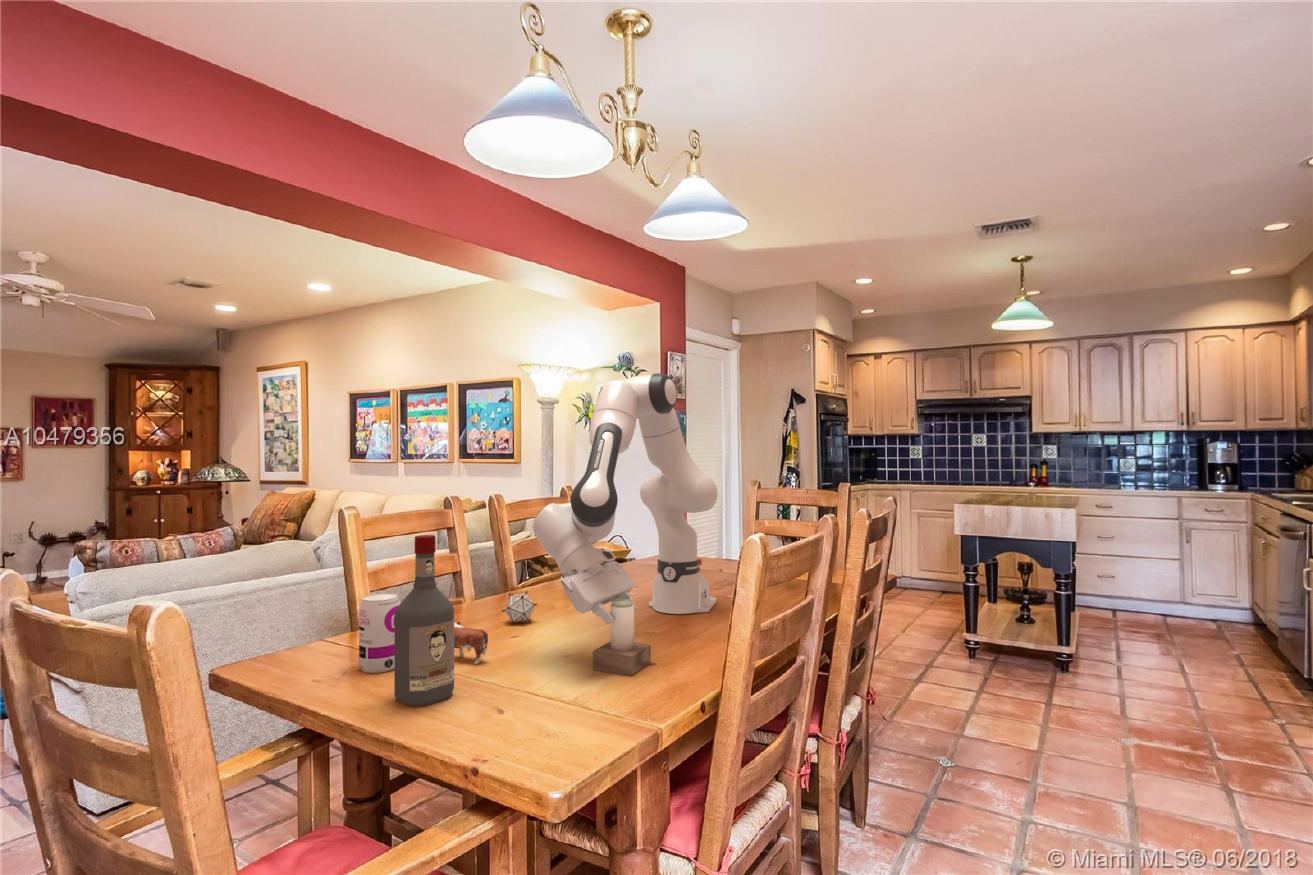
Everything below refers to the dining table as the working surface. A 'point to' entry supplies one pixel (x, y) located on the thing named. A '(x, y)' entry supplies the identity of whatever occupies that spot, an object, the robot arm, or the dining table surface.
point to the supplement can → (377, 632)
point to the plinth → (622, 659)
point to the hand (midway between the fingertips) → (623, 616)
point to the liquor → (424, 635)
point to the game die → (519, 607)
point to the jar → (622, 625)
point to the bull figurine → (470, 640)
